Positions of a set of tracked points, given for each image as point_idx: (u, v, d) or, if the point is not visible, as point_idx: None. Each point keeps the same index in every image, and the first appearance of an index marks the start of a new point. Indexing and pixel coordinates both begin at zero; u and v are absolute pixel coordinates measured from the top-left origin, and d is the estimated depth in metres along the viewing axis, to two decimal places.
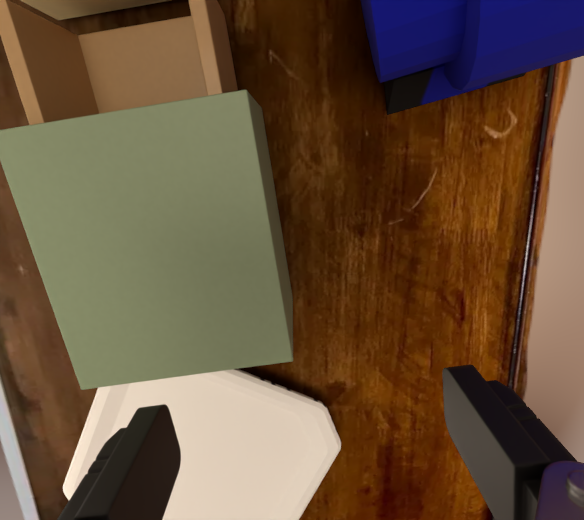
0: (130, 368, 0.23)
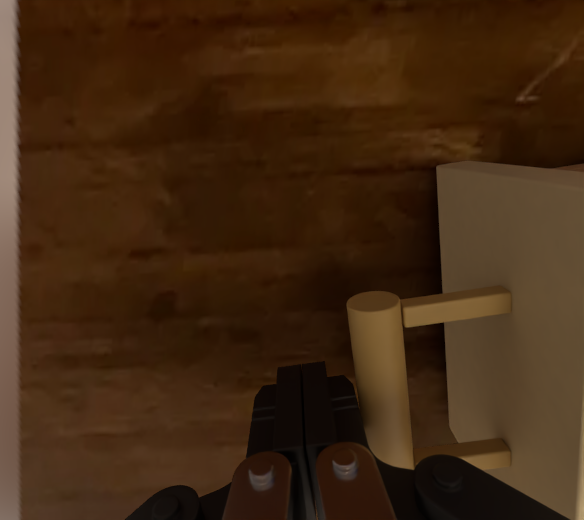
0: None
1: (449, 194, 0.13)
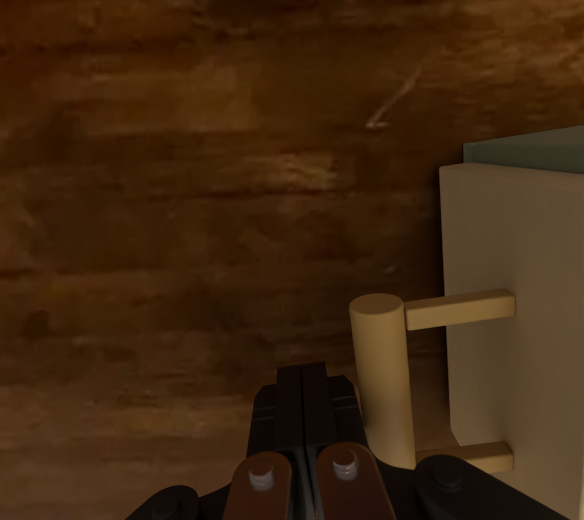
0: None
1: (452, 196, 0.13)
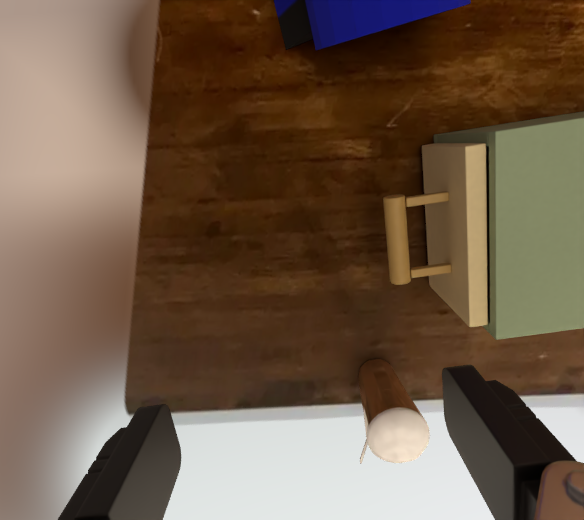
0: None
1: (427, 158, 0.29)
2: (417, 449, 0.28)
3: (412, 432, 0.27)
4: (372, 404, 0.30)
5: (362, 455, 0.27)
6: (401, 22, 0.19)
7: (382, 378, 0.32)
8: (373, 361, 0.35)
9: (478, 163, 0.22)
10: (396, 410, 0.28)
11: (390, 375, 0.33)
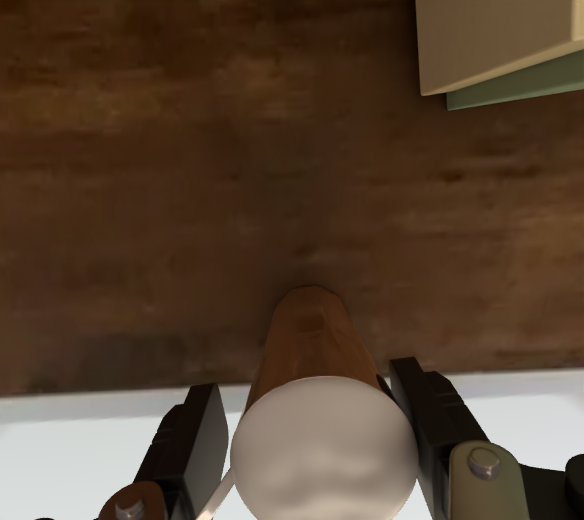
0: None
1: None
2: (379, 508, 0.09)
3: (360, 455, 0.08)
4: (262, 372, 0.11)
5: None
6: None
7: (307, 315, 0.13)
8: (301, 289, 0.16)
9: None
10: (313, 383, 0.09)
11: (331, 310, 0.14)
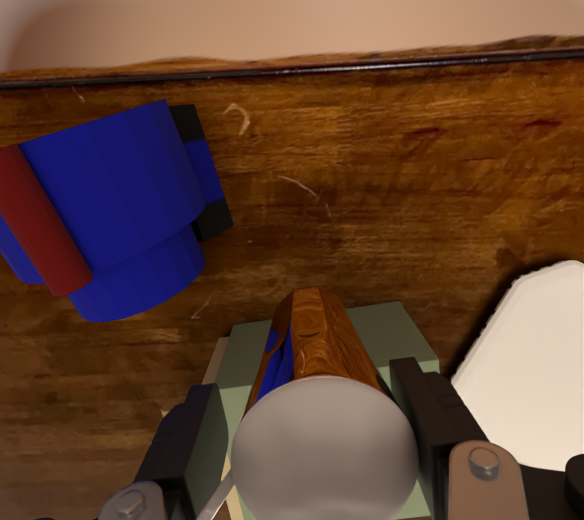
0: None
1: None
2: (379, 509, 0.09)
3: (361, 456, 0.08)
4: (263, 373, 0.11)
5: None
6: (114, 319, 0.24)
7: (308, 316, 0.13)
8: (302, 290, 0.16)
9: None
10: (313, 385, 0.09)
11: (332, 311, 0.14)
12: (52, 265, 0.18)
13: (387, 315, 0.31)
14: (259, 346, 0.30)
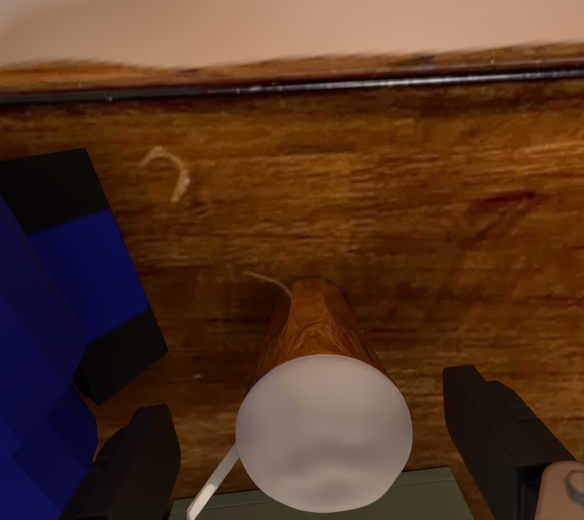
0: None
1: None
2: (375, 477, 0.09)
3: (357, 425, 0.09)
4: (265, 354, 0.11)
5: (202, 497, 0.09)
6: None
7: (308, 303, 0.14)
8: (302, 280, 0.17)
9: None
10: (313, 360, 0.09)
11: (331, 299, 0.15)
12: None
13: (434, 513, 0.18)
14: None
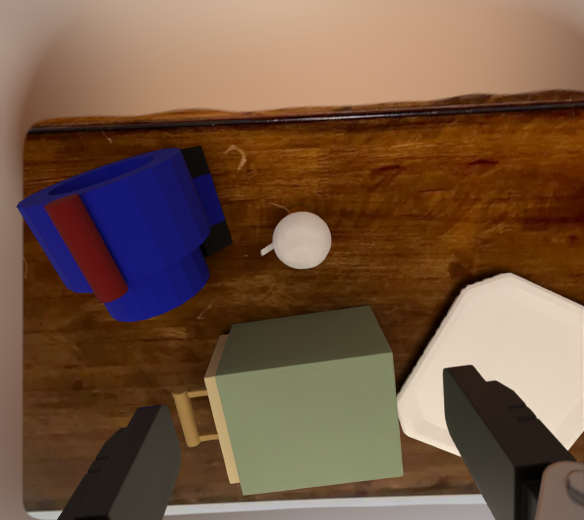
0: (389, 448, 0.34)
1: None
2: (317, 248, 0.30)
3: (311, 229, 0.29)
4: None
5: (264, 250, 0.29)
6: (140, 319, 0.31)
7: (298, 208, 0.34)
8: (296, 206, 0.37)
9: (214, 387, 0.34)
10: (298, 212, 0.30)
11: (307, 209, 0.35)
12: (101, 280, 0.25)
13: (358, 317, 0.38)
14: (253, 342, 0.37)
